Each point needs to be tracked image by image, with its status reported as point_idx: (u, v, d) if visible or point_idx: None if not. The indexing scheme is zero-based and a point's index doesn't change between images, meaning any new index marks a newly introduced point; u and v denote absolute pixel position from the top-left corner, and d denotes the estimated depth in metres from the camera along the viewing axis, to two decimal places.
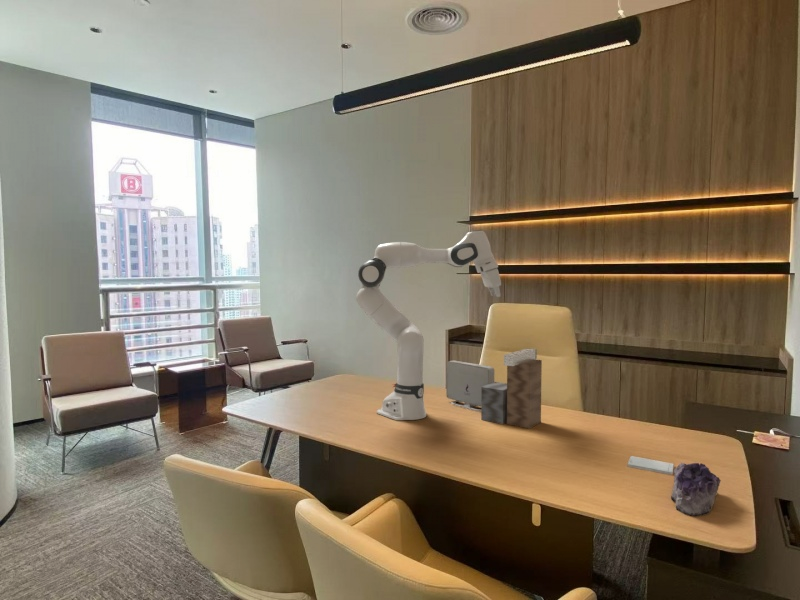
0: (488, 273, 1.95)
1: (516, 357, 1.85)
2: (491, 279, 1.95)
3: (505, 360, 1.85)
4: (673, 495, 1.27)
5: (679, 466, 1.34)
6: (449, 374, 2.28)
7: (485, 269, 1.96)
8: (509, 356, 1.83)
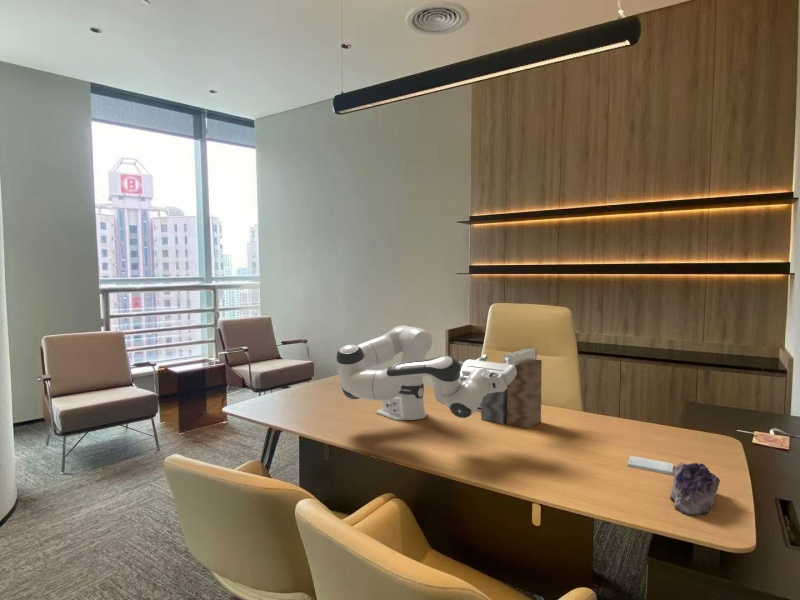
0: (508, 383, 1.64)
1: (516, 357, 1.85)
2: (513, 378, 1.66)
3: None
4: (672, 495, 1.27)
5: (679, 466, 1.34)
6: None
7: (505, 388, 1.64)
8: (509, 356, 1.83)
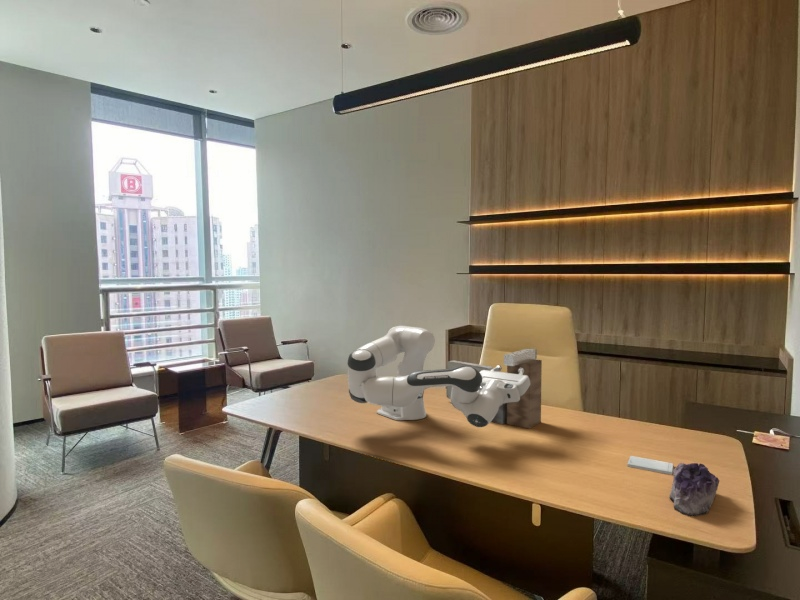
0: (522, 393, 1.72)
1: (516, 357, 1.85)
2: (527, 388, 1.73)
3: (505, 360, 1.85)
4: (671, 495, 1.27)
5: (678, 466, 1.34)
6: None
7: (519, 398, 1.71)
8: (509, 356, 1.83)
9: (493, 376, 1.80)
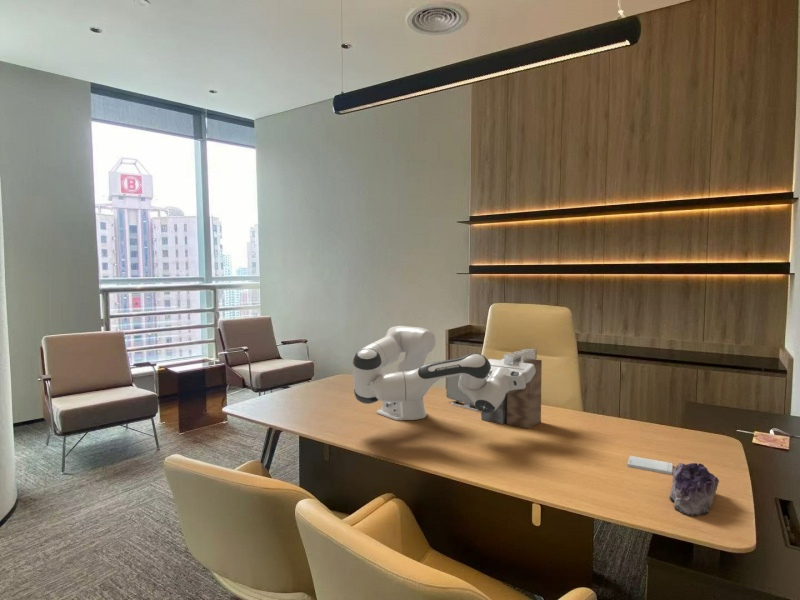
0: (528, 381, 1.77)
1: (516, 357, 1.85)
2: (532, 376, 1.78)
3: (505, 360, 1.85)
4: (672, 495, 1.26)
5: (678, 467, 1.33)
6: None
7: (525, 385, 1.76)
8: (509, 356, 1.84)
9: (499, 364, 1.85)
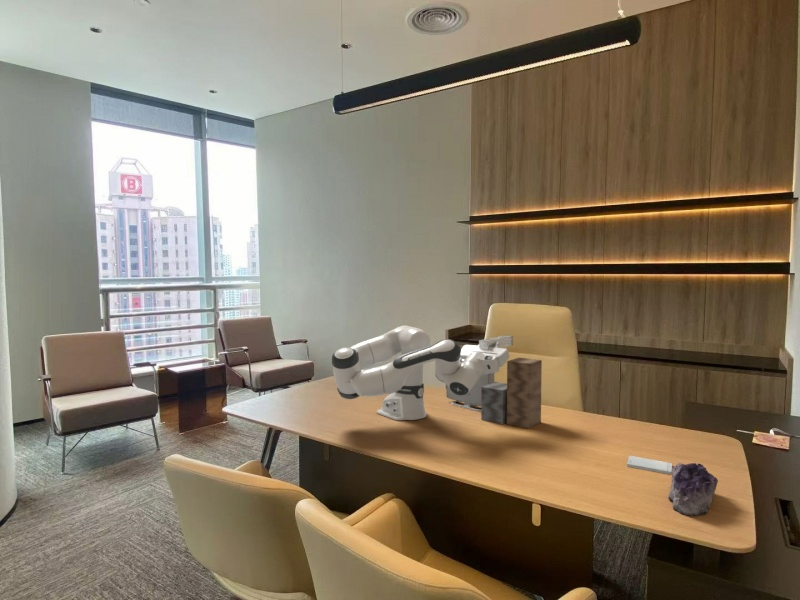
0: (501, 365, 1.84)
1: (491, 342, 1.91)
2: (506, 360, 1.85)
3: (480, 345, 1.91)
4: (670, 495, 1.26)
5: (677, 467, 1.33)
6: None
7: (498, 369, 1.83)
8: (484, 341, 1.90)
9: (475, 350, 1.92)
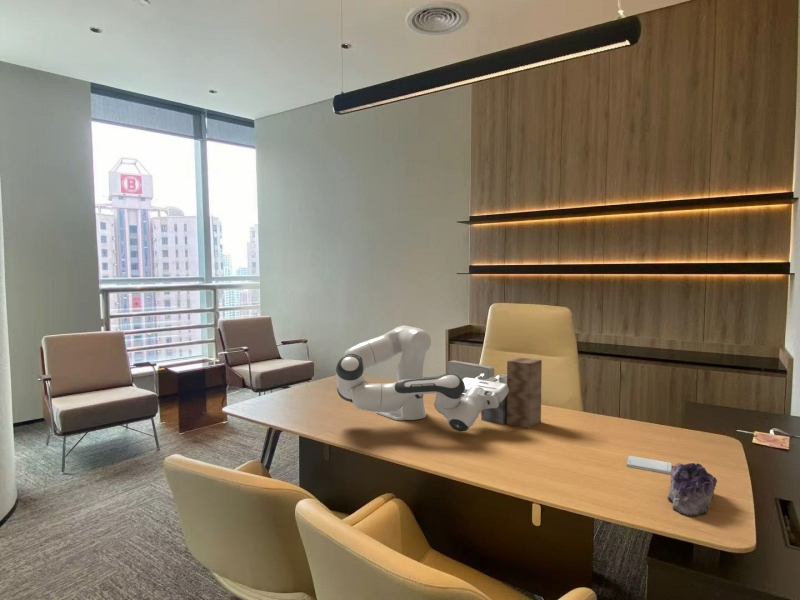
0: (501, 400, 1.84)
1: None
2: (505, 395, 1.85)
3: None
4: (670, 495, 1.26)
5: (676, 467, 1.33)
6: None
7: (498, 404, 1.84)
8: (484, 383, 1.91)
9: (475, 383, 1.92)
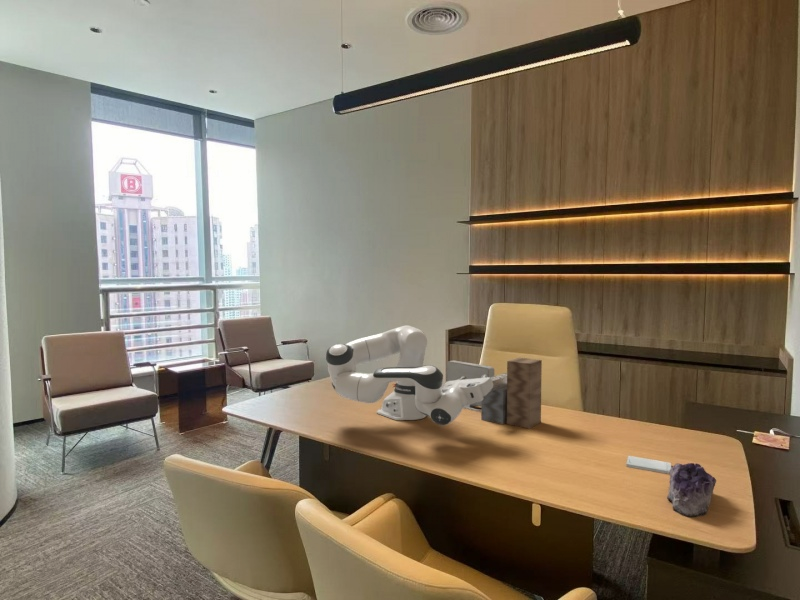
0: (485, 393, 1.73)
1: None
2: (490, 389, 1.74)
3: None
4: (670, 496, 1.26)
5: (675, 467, 1.33)
6: (449, 374, 2.28)
7: None
8: None
9: None
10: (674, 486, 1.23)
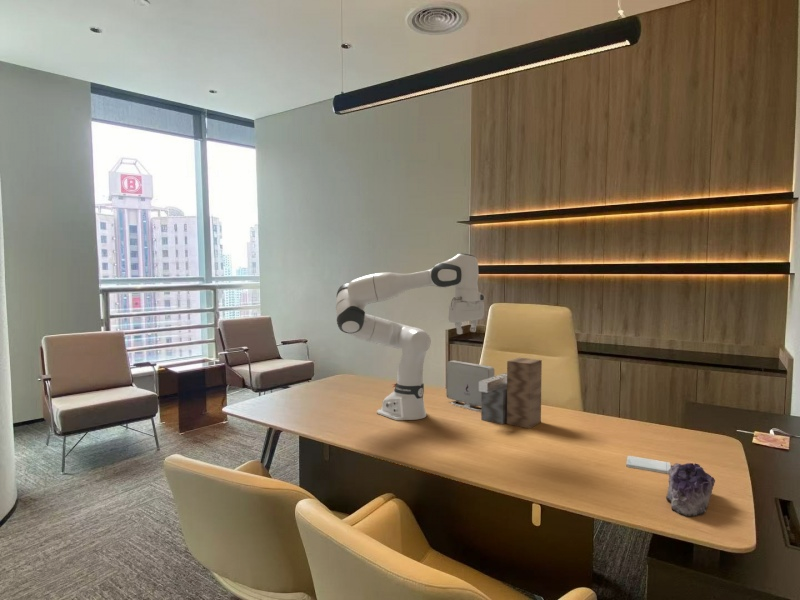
0: None
1: (490, 383, 1.92)
2: None
3: (480, 387, 1.92)
4: (668, 496, 1.26)
5: (674, 467, 1.33)
6: (449, 374, 2.28)
7: None
8: (484, 383, 1.91)
9: None
10: (673, 486, 1.23)
